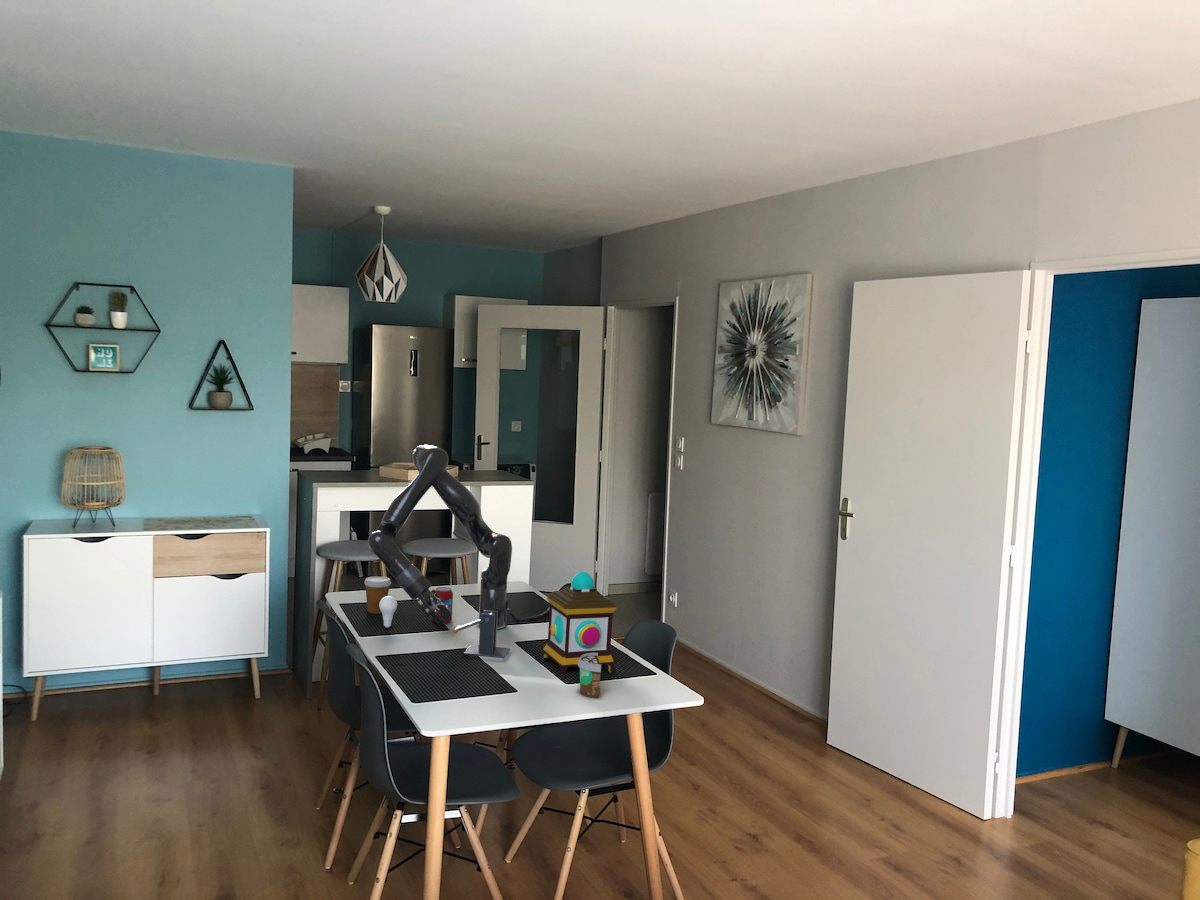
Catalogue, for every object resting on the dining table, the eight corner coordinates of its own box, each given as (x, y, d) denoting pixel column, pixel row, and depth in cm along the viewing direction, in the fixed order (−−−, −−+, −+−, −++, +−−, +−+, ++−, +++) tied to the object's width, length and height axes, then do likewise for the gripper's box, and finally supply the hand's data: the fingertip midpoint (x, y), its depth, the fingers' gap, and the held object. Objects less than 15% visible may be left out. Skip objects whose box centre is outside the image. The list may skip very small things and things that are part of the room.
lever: (454, 635, 296) (452, 628, 296) (459, 631, 302) (456, 624, 302) (492, 622, 295) (489, 615, 295) (496, 617, 300) (493, 610, 300)
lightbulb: (399, 626, 325) (401, 595, 324) (390, 630, 319) (391, 599, 318) (384, 624, 327) (385, 593, 326) (374, 628, 321) (376, 596, 320)
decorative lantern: (536, 658, 298) (542, 565, 296) (594, 655, 306) (599, 564, 304) (559, 678, 280) (564, 579, 277) (619, 674, 287) (625, 577, 285)
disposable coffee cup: (376, 616, 337) (377, 583, 336) (357, 611, 342) (358, 578, 341) (395, 611, 345) (396, 579, 344) (376, 606, 350) (378, 575, 349)
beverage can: (447, 625, 331) (449, 591, 330) (429, 623, 332) (431, 589, 331) (454, 620, 337) (456, 587, 336) (436, 618, 339) (438, 585, 338)
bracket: (462, 657, 294) (465, 614, 293) (470, 648, 304) (473, 606, 303) (503, 661, 293) (506, 618, 292) (510, 652, 303) (512, 610, 302)
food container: (574, 684, 275) (576, 651, 274) (595, 685, 275) (597, 652, 275) (577, 699, 263) (579, 664, 262) (599, 700, 263) (601, 665, 262)
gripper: (414, 578, 292) (448, 618, 292) (428, 570, 306) (460, 607, 306) (397, 594, 293) (431, 633, 293) (411, 584, 307) (443, 622, 307)
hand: (446, 620), depth 299 cm, fingers open, 8 cm apart
